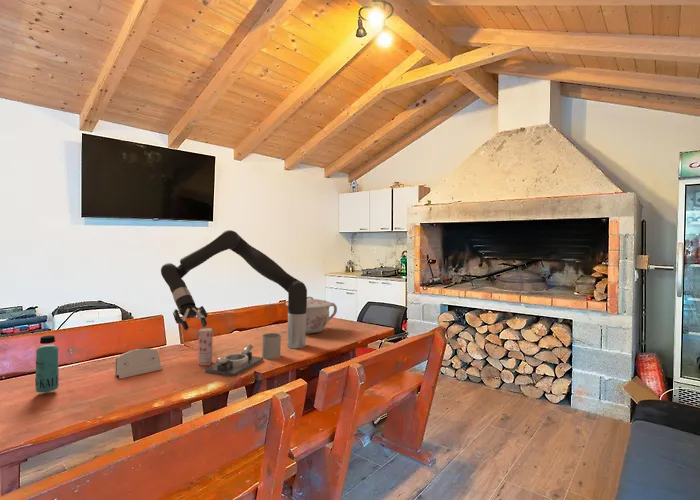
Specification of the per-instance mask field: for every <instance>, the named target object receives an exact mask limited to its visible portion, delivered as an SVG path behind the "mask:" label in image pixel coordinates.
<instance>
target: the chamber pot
mask: <svg viewBox="0 0 700 500" xmlns="http://www.w3.org/2000/svg"><path fill="white" fill-rule="evenodd" d="M285 306H287V307H288V301H287V302H285ZM331 307H333V312H332V314H331V315H330V308H331ZM337 313H338V307H337V304H336V303H334V302H330V301H327V300H325V299H319V298H318V299H316V298H314V297H312V296H307V308H306V335H312V334H317V333H321V331H323V330H324V329H325V328H326V325H327V324H328V323H329V322H330V321H331V320H332V319H333V318H334V317H335V316H336V314H337Z"/></svg>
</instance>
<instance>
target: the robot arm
mask: <svg viewBox="0 0 700 500" xmlns="http://www.w3.org/2000/svg"><path fill="white" fill-rule="evenodd" d="M228 250H230V251H232V252H234V253H235V254H236V255H238V256H240V257H241V258H242V259H243V260H244V261H245V262H246V263H247V264H248V265H249V266H250V267H251V268H252V269H253V270H254V271H256V272H257V273H258V274H260V275H261V276H263V277H264V278H266V279H267V280H269V281H272V282H274V283H275V284H276V285H279V286H280V287H282V288H283V290H284V291H286V292H287V293H288V294H287V295H288V297H287V298H288V299H287V300H288V301H287V302H288V306H287V341H286V342H287V346H286V347H288V349H289V348H290V349H303V348H305V347H306V345H307V343H306V342H307V339H306V338H307V334H306V308H307V297H308V288H307V286H306V284H305V283H304V282H303V281H300V279H297V278H295V277H294V276H292V275H291V274H289V273H288V272H287V271H286V270H285V269H284V268H283V267H281V265H279V264H278V263H277V262H275V260H273V259H272V258H271V257H269V256H268V255H266V254H265V253H263V252H262V251H260V250H259V249H257V248H255V247H254V246H252V245H251V244H249V243H248V242H247V241H246V240H244V238H243V237H242V236H240V234H239V233H237V232H236V231H235V230H229V229H228V230H225V231H223V232H222V233H221V234H220V235H219V236H217V237H216V238H215V239H213V240H212V241H211V242H209V243H207V244H205V245H204V246H201V247H200V248H198V249H196V250H195V251H192V252H190V253H188V254H186V255H185V256H183V257H182V258H180V259H179V265H178V266H176V264H173V263H171V262H166V263H164V264H163V265H162V267H161V268H160V275H161V276H162V278H163V280H164V281H165V283H166V284H167V286H168V287H169V290H170V293H171V295H172V298H173V301H174V303H175V305H176V307H177V309H174V310H173V312H172V315H173V318H174V321H175V323H176V324H181V326H182V328H183V329H184V330H185V331H188V330H189V327H190V326H189V325H188V322H187V319H190V318H191V319H198V320H199V321H200V323H201V326H202V327H203V328H207V324H208V322H207V317H208V316H209V314H208V312H207V310H206V309H205V307H204V306H203V305H201V306H200V307H197V306H196V302H195V300H194V298H193V295H192V293H191V292H190V290H189V289H188V286H187V284H186V282H185V281H184V279H183V278H184V277H185V276H186V275H187V274H188V273H189V272H190V271H191V270H193V269H196V268H197V267H199V266H200V265H202V264H203V263H205V262H206V261H208V260H209V259H211V258H213V257H214V256H215V255H218V254H219V253H222V252H224V251H228ZM180 315H181V316H182V317H181V316H180Z"/></svg>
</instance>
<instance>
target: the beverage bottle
mask: <svg viewBox="0 0 700 500" xmlns="http://www.w3.org/2000/svg"><path fill="white" fill-rule="evenodd" d="M55 342H56V337H55V335H43V336H41V337H40V340H39V343H40V344H42V345H41V346H39V347H38V348H37V349H36V350H35V353H36V354H35V379H34V380H35V383H34V384H35V391H36V392H37V393H42V394H43V393H48V392H53V391H56V390H57V389H59V381H60V379H59V349H60V348H59V347H58V345H56V344H53V343H55ZM40 344H39V345H40Z"/></svg>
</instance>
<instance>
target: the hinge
mask: <svg viewBox="0 0 700 500" xmlns="http://www.w3.org/2000/svg"><path fill="white" fill-rule="evenodd" d="M160 370H161V371H162V370H163V365H162V363H161V359H160V354H159V352H158V349H153V348H136V349H132V350H129V351H127V352H123V353H122V354H120V355H118V356H117V357H116V358H115V371H114V376H115V377H117V376H118V379H119V380H121V379H124V378H129V377H133V376H137V375H143V374H147V373H150V372H151V373H152V372H155V371H160Z"/></svg>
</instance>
